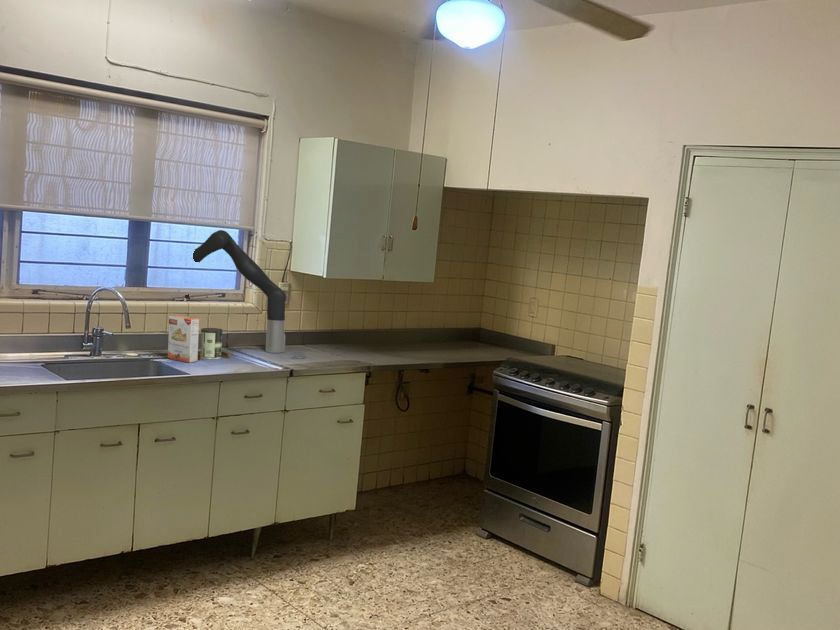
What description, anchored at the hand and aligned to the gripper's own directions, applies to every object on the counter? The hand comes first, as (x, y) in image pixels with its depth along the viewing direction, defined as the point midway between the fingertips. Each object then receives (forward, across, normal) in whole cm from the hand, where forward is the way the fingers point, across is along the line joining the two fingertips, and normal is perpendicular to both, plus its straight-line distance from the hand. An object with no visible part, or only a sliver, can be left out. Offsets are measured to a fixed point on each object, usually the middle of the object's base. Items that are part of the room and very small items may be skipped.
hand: (192, 322), depth 403 cm
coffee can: (+25, 0, -5) cm, 26 cm away
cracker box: (+28, -16, -7) cm, 33 cm away
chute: (+25, 0, -5) cm, 26 cm away
